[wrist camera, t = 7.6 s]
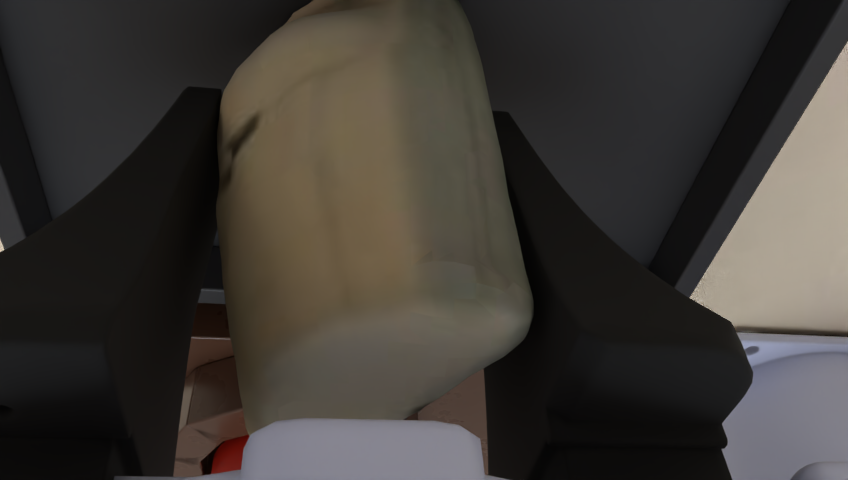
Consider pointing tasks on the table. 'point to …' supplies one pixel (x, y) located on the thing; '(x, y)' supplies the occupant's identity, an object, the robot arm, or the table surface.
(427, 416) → the brown button base
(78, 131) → the tray
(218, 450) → the button
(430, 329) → the cream clay lump
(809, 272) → the table surface
